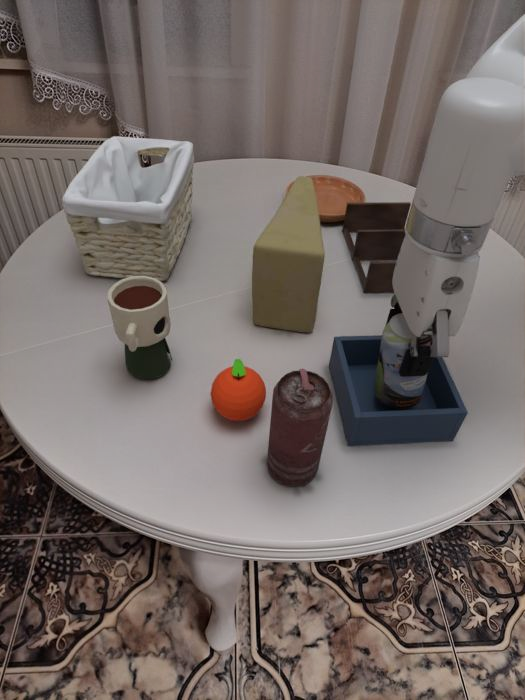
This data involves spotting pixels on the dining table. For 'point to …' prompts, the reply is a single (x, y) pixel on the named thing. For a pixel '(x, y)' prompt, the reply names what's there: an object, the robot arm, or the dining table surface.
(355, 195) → the saucer
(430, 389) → the open square box
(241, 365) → the clementine
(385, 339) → the beverage can
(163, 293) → the character mug
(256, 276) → the cheese
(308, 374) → the can
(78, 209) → the basket
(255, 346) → the dining table surface
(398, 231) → the drying rack
